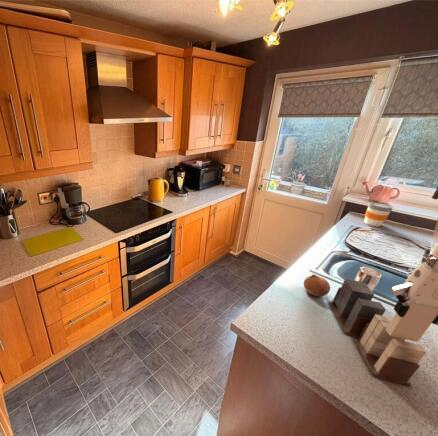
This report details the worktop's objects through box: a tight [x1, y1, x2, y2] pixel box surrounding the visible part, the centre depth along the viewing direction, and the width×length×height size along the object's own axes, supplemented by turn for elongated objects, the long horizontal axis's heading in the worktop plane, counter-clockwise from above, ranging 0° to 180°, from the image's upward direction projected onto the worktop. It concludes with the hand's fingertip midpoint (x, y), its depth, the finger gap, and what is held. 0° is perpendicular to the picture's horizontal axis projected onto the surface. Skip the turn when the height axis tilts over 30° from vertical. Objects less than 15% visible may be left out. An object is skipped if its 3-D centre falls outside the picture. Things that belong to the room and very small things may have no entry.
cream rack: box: [353, 314, 427, 386], centre depth 73 cm, size 9×13×14 cm
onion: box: [303, 273, 331, 298], centre depth 102 cm, size 10×9×10 cm
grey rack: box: [328, 278, 387, 338], centre depth 88 cm, size 9×16×14 cm, turn 162°
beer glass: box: [354, 266, 383, 292], centre depth 98 cm, size 7×7×15 cm
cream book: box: [386, 297, 438, 343], centre depth 66 cm, size 6×2×13 cm, turn 72°
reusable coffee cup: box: [363, 201, 393, 227], centre depth 166 cm, size 13×13×15 cm
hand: (414, 316), depth 66 cm, fingers closed on cream book, 6 cm apart
